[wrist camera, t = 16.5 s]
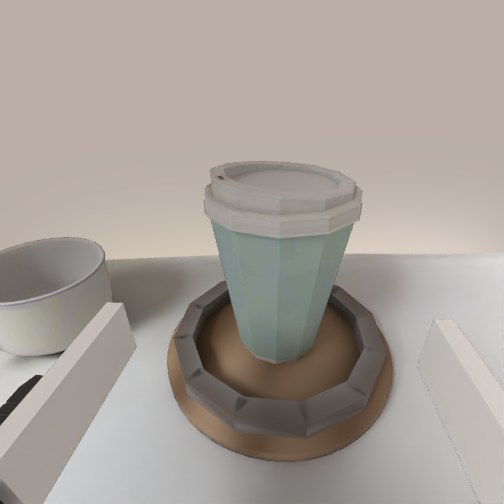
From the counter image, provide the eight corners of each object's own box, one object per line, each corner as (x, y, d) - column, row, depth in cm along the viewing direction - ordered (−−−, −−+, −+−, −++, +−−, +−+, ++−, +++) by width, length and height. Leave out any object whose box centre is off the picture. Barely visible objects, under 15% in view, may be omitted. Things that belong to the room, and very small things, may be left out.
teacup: (100, 286, 36) (80, 226, 32) (141, 329, 29) (122, 259, 25) (-51, 349, 28) (-103, 278, 24) (-43, 430, 21) (-114, 349, 17)
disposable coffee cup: (297, 290, 32) (306, 148, 25) (369, 362, 24) (412, 175, 16) (204, 319, 29) (182, 162, 21) (247, 416, 20) (236, 207, 13)
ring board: (126, 444, 20) (117, 422, 18) (202, 282, 36) (200, 264, 35) (430, 479, 17) (441, 456, 16) (362, 289, 34) (366, 271, 33)
